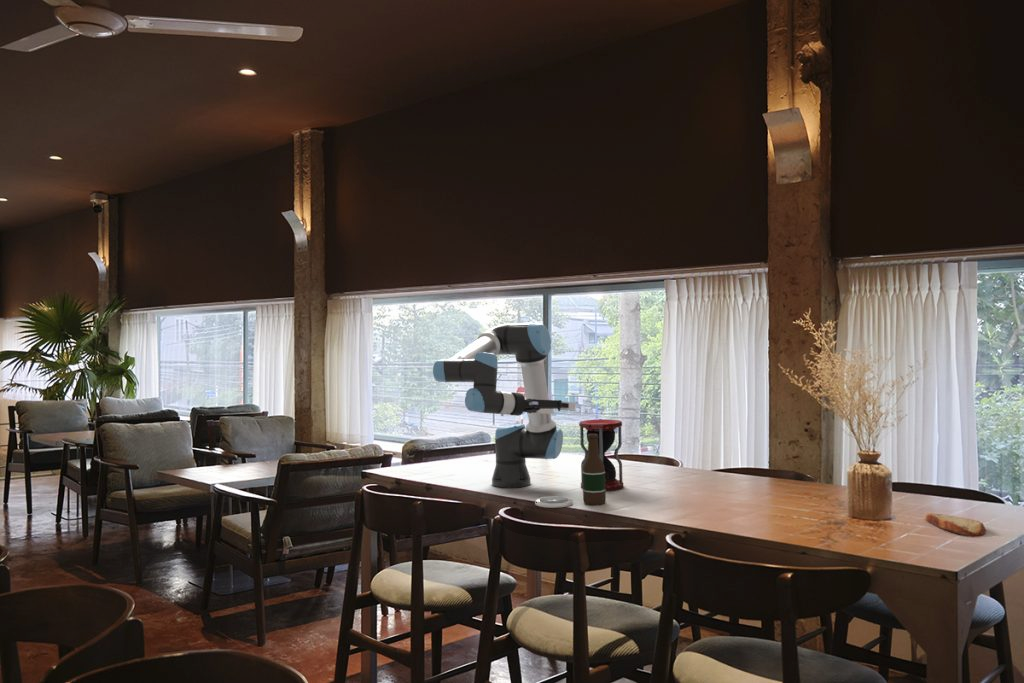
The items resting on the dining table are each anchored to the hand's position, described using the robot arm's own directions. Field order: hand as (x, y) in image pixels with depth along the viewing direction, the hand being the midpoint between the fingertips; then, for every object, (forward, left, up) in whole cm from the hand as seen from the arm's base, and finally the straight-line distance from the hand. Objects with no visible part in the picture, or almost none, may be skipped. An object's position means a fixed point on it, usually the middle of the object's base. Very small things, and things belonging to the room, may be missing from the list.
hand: (563, 408), depth 283 cm
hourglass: (-29, +14, -33) cm, 47 cm away
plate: (-1, -4, -33) cm, 33 cm away
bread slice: (+37, +112, -34) cm, 123 cm away
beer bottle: (-1, +10, -33) cm, 35 cm away
